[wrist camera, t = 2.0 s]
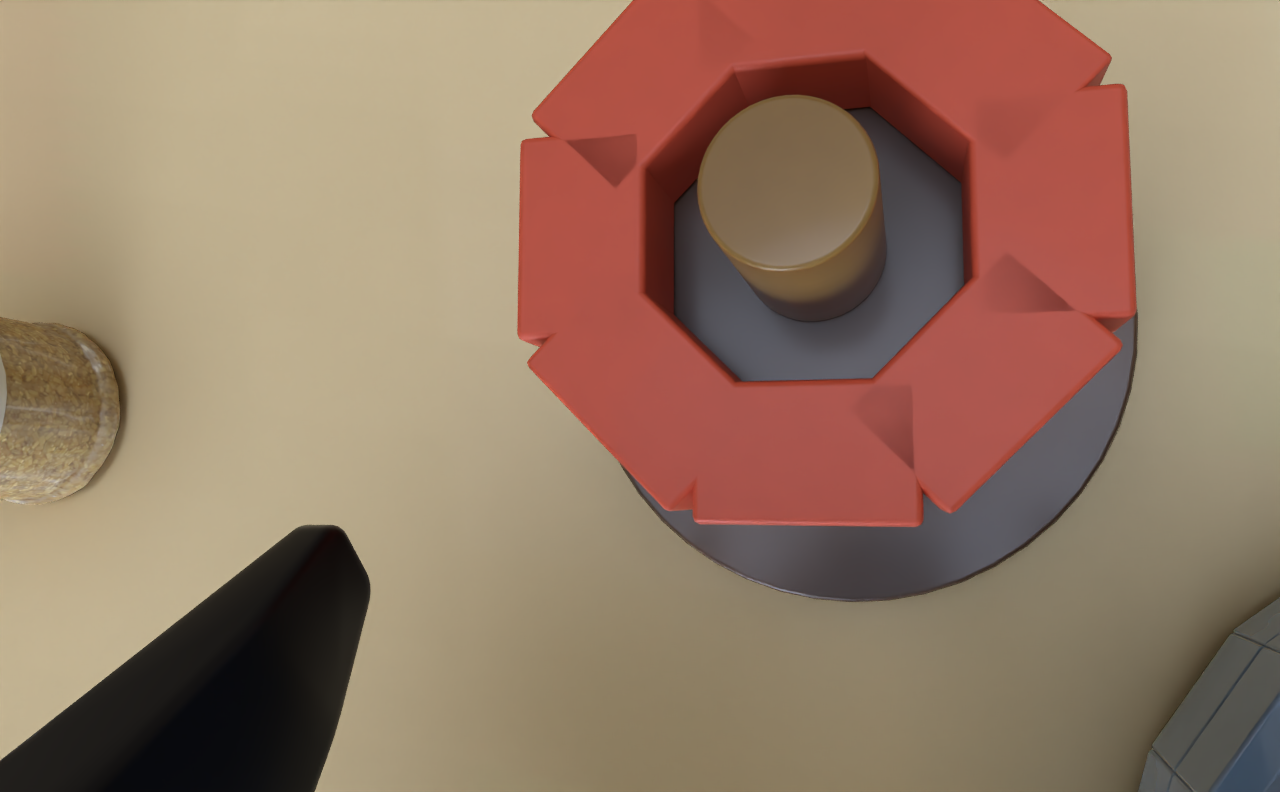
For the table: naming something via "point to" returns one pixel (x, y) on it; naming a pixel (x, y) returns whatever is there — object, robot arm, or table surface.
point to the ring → (935, 356)
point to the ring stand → (855, 336)
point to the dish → (1226, 719)
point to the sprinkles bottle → (52, 411)
